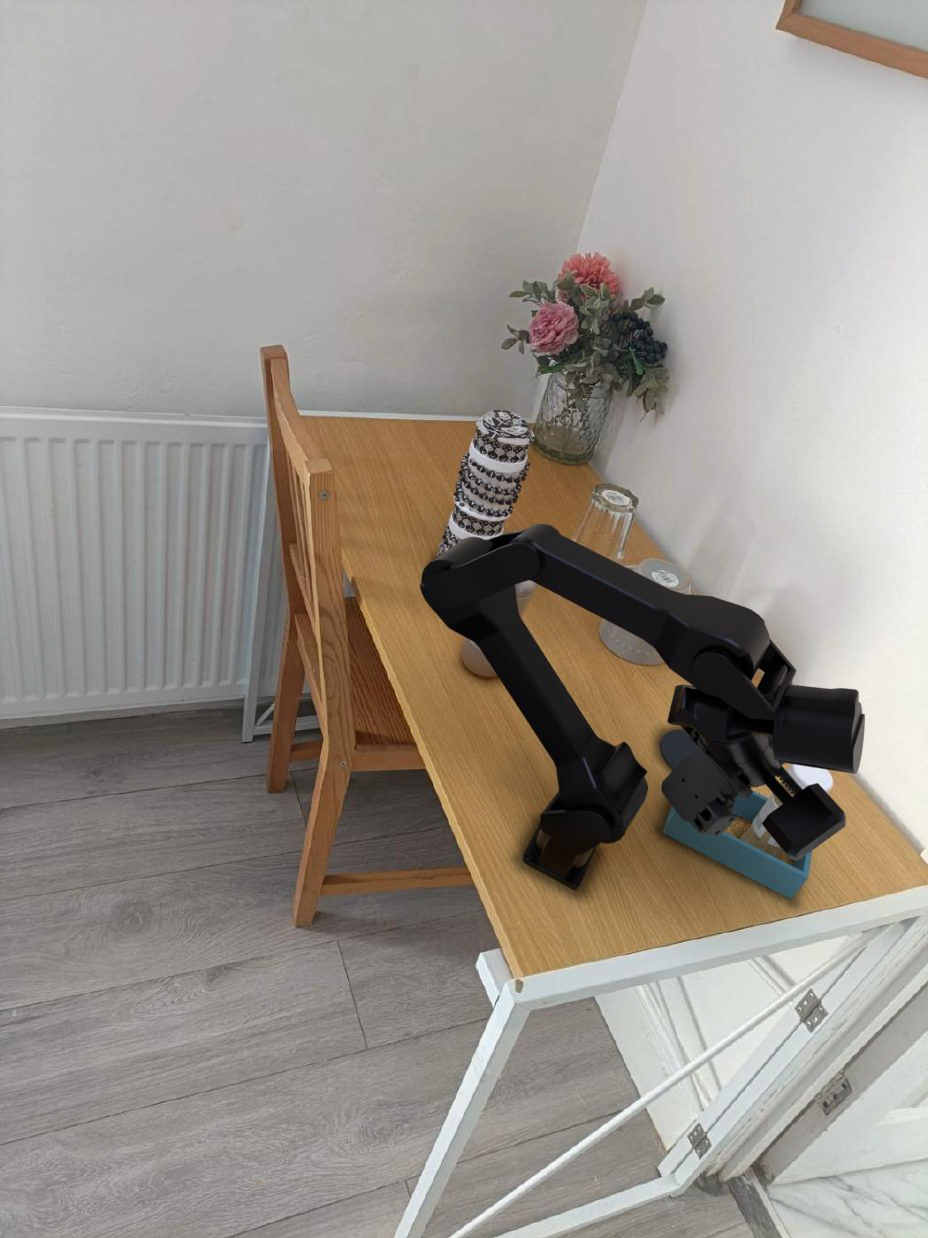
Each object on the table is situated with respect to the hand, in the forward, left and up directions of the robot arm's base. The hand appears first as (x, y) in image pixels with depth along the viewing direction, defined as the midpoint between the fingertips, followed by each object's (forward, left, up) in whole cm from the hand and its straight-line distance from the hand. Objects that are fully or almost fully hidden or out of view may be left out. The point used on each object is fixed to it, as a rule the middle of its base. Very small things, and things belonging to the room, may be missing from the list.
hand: (767, 789), depth 89 cm
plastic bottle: (+13, +35, -13) cm, 39 cm away
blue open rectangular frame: (+5, -1, -13) cm, 14 cm away
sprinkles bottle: (+6, -4, -13) cm, 15 cm away
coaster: (+16, +6, -13) cm, 21 cm away
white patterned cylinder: (+31, +46, -13) cm, 57 cm away
